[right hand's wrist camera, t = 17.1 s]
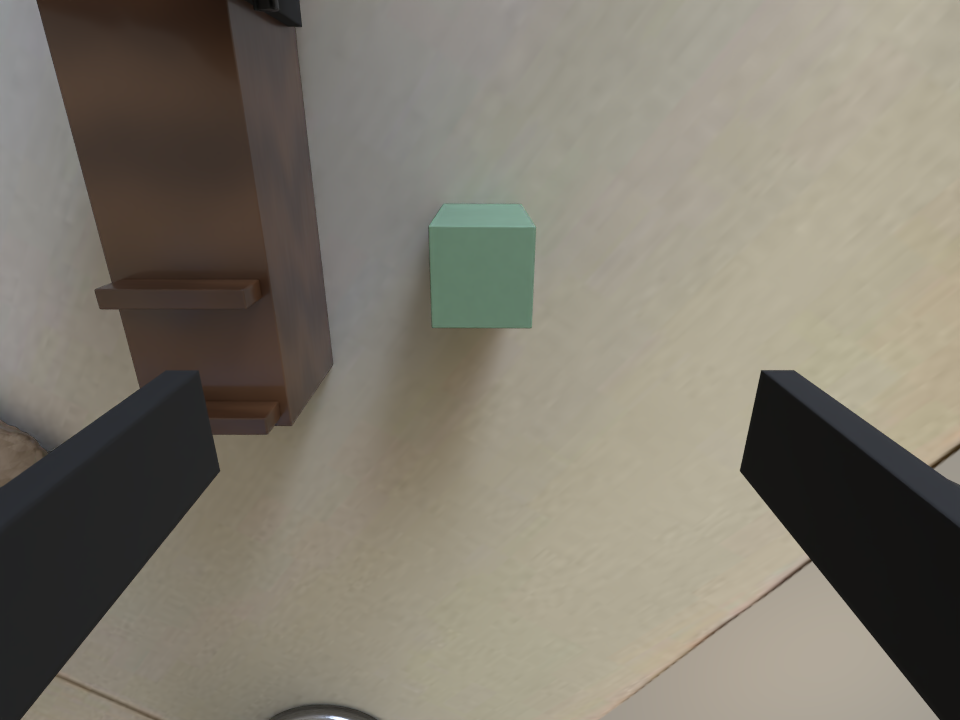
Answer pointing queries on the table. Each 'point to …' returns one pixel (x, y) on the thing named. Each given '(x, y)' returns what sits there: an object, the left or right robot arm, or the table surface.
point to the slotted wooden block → (200, 195)
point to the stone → (17, 452)
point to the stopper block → (482, 266)
